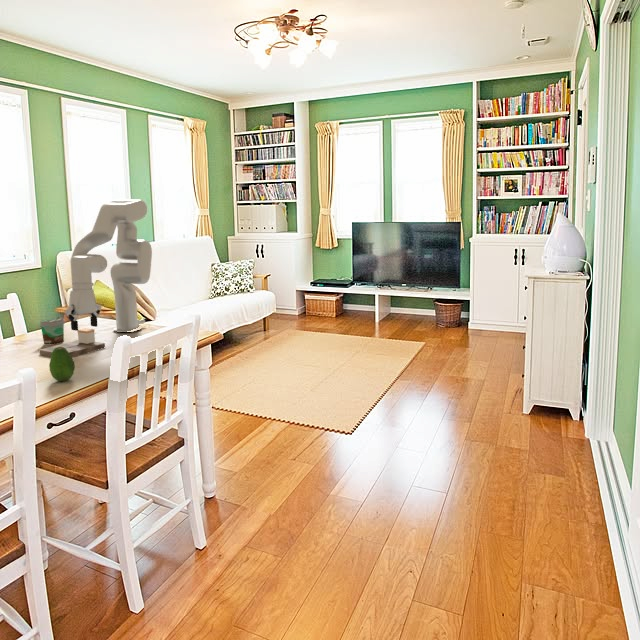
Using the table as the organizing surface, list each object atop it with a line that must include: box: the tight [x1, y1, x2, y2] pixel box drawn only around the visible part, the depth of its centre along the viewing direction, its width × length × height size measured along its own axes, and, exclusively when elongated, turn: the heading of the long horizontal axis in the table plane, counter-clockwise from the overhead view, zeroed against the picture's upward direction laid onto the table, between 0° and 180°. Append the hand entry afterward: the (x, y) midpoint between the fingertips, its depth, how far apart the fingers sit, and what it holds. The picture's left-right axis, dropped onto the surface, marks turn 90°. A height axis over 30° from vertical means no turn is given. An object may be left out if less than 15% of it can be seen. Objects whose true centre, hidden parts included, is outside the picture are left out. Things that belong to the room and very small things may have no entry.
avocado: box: [49, 347, 76, 382], centre depth 196 cm, size 8×8×12 cm
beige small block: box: [77, 327, 96, 344], centre depth 240 cm, size 4×5×5 cm
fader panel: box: [38, 339, 106, 358], centre depth 235 cm, size 20×14×2 cm
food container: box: [39, 316, 66, 345], centre depth 248 cm, size 12×6×10 cm, turn 168°
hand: (84, 328), depth 238 cm, fingers open, 9 cm apart
